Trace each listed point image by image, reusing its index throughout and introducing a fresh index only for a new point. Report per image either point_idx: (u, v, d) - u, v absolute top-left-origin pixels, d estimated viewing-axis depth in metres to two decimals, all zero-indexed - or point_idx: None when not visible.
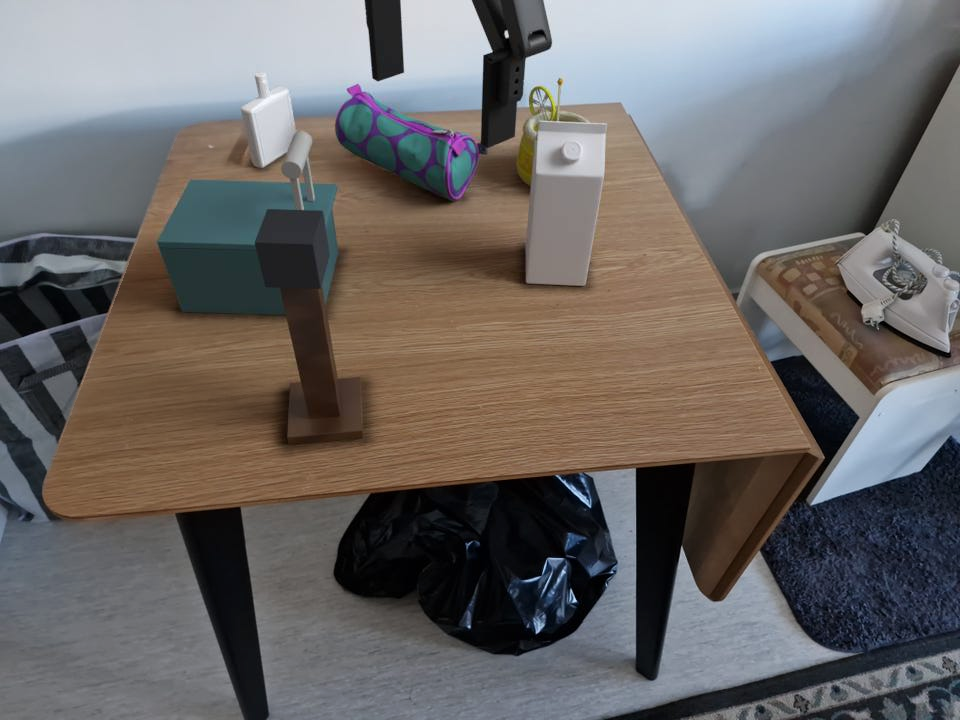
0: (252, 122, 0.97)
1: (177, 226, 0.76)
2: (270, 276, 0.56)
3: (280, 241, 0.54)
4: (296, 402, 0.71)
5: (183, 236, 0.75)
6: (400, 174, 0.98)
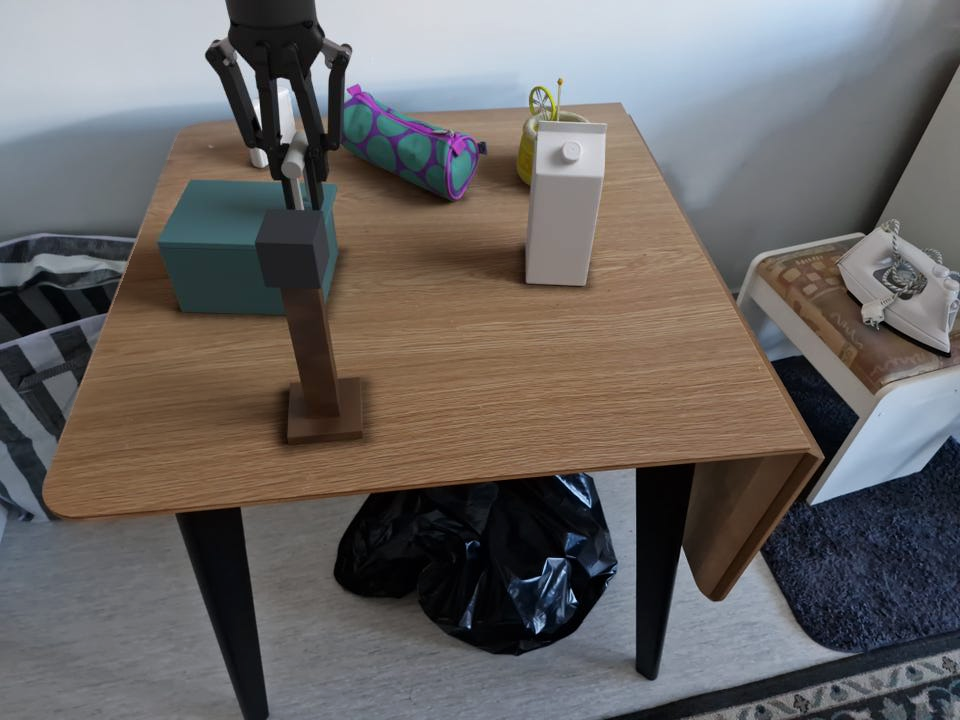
0: None
1: (177, 226, 0.76)
2: (270, 276, 0.56)
3: (280, 241, 0.54)
4: (296, 402, 0.71)
5: (183, 236, 0.75)
6: (400, 174, 0.98)
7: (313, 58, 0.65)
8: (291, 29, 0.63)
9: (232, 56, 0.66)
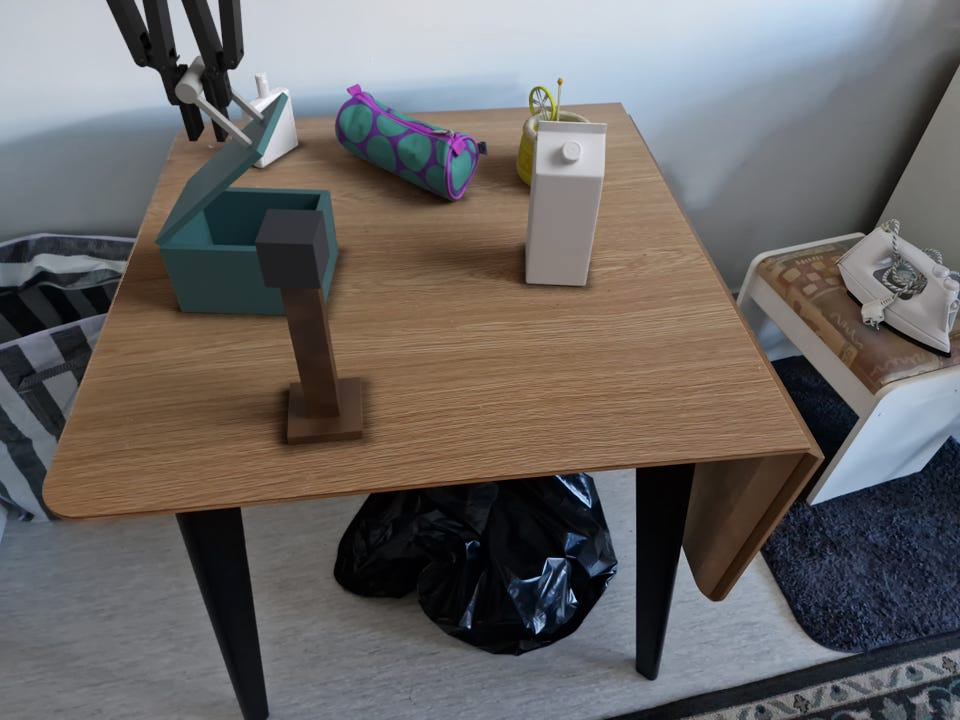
0: None
1: (169, 220, 0.75)
2: (270, 276, 0.56)
3: (280, 241, 0.54)
4: (296, 402, 0.71)
5: (170, 223, 0.74)
6: (400, 174, 0.98)
7: None
8: None
9: None
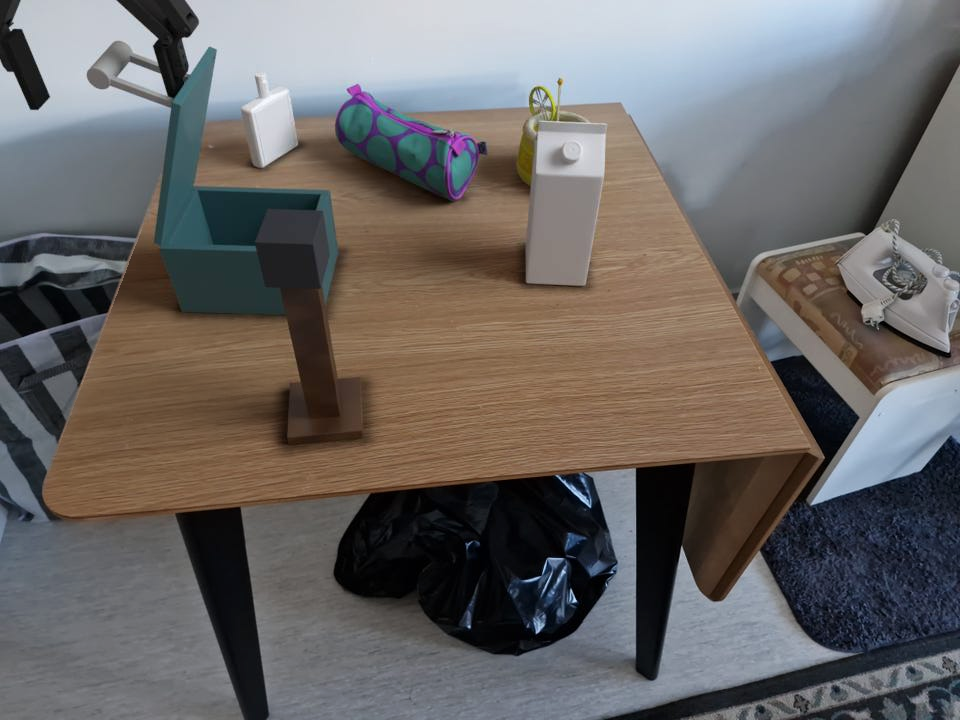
0: (252, 122, 0.97)
1: None
2: (270, 276, 0.56)
3: (280, 241, 0.54)
4: (296, 402, 0.71)
5: None
6: (400, 174, 0.98)
7: None
8: None
9: None
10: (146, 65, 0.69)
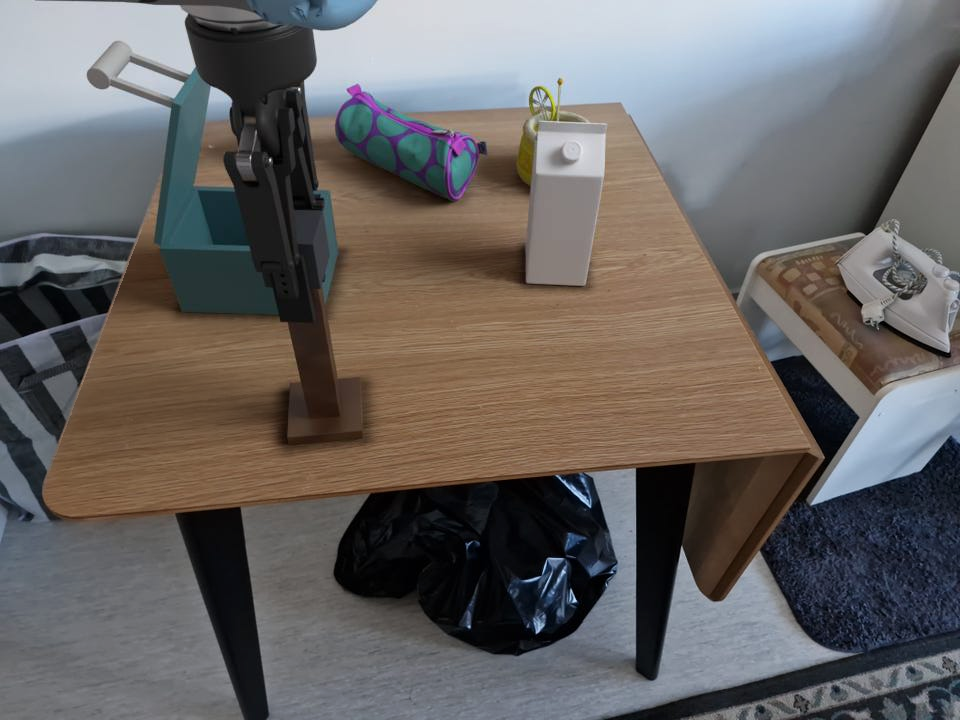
0: None
1: None
2: None
3: None
4: (296, 402, 0.71)
5: None
6: (400, 174, 0.98)
7: None
8: None
9: None
10: (146, 65, 0.69)
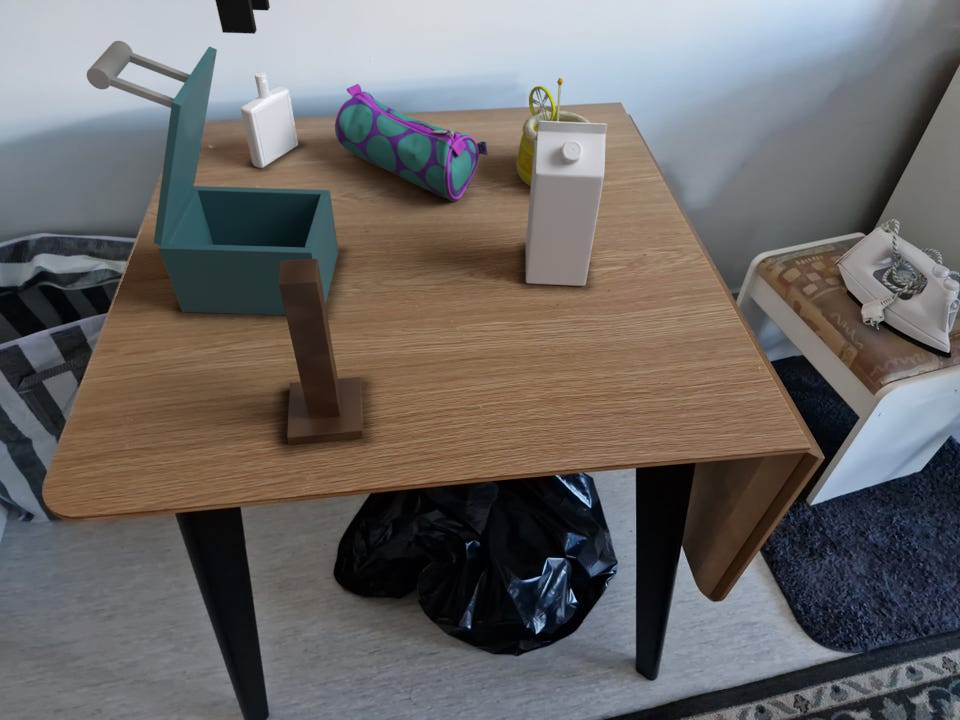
0: (252, 122, 0.97)
1: None
2: None
3: None
4: (296, 402, 0.71)
5: None
6: (400, 174, 0.98)
7: None
8: None
9: None
10: (146, 65, 0.69)
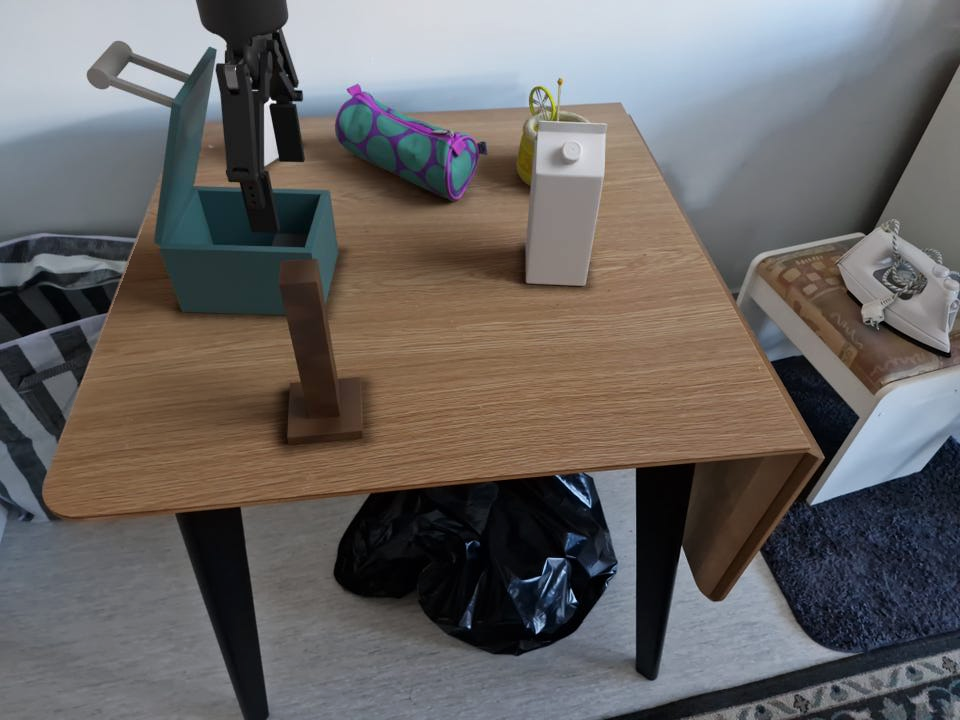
0: None
1: None
2: None
3: None
4: (296, 402, 0.71)
5: None
6: (400, 174, 0.98)
7: None
8: None
9: None
10: (146, 65, 0.69)
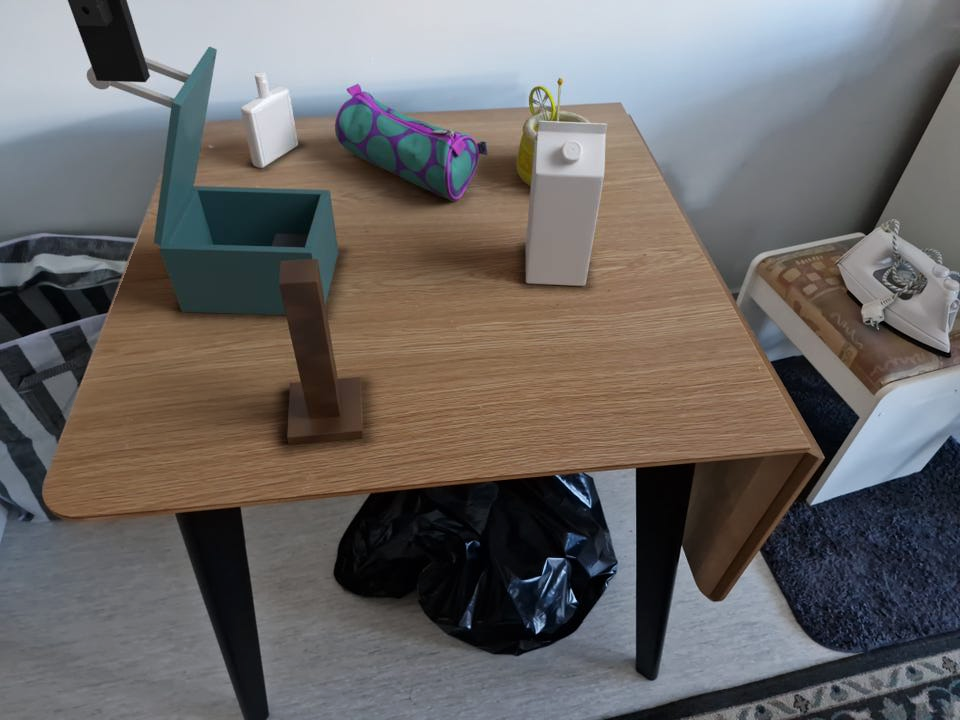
0: (252, 122, 0.97)
1: None
2: None
3: None
4: (296, 402, 0.71)
5: None
6: (400, 174, 0.98)
7: None
8: None
9: None
10: None
